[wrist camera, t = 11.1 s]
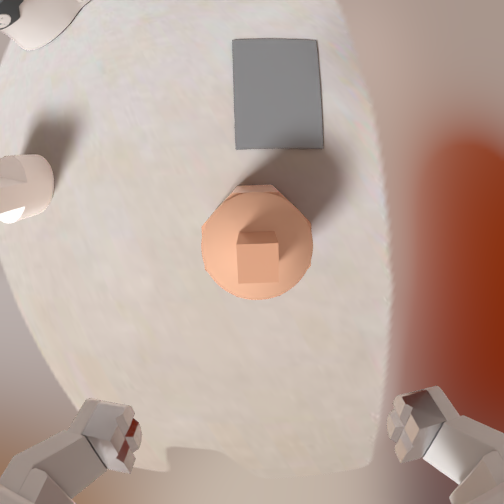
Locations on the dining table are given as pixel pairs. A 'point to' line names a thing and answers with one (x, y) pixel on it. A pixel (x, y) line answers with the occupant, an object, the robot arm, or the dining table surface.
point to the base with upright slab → (24, 186)
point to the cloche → (256, 243)
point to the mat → (276, 94)
